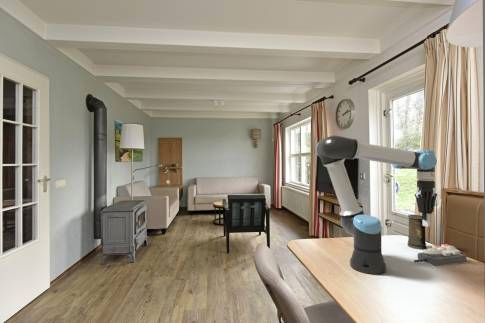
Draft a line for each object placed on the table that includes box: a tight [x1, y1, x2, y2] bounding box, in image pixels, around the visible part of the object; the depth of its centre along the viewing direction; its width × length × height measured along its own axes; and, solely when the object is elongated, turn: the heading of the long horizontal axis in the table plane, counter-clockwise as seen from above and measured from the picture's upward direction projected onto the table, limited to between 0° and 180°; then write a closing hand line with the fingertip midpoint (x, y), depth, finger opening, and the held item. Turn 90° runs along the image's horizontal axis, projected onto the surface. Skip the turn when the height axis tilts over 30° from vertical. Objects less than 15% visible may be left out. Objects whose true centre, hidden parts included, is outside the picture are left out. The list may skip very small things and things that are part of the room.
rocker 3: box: [440, 243, 461, 255], centre depth 126 cm, size 4×7×3 cm, turn 15°
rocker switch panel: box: [413, 252, 467, 267], centre depth 124 cm, size 27×9×3 cm, turn 105°
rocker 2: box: [431, 244, 452, 256], centre depth 125 cm, size 4×7×3 cm, turn 15°
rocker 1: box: [422, 247, 442, 255], centre depth 123 cm, size 4×7×3 cm, turn 15°
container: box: [407, 214, 428, 250], centre depth 145 cm, size 9×9×18 cm
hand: (426, 226), depth 128 cm, fingers closed
